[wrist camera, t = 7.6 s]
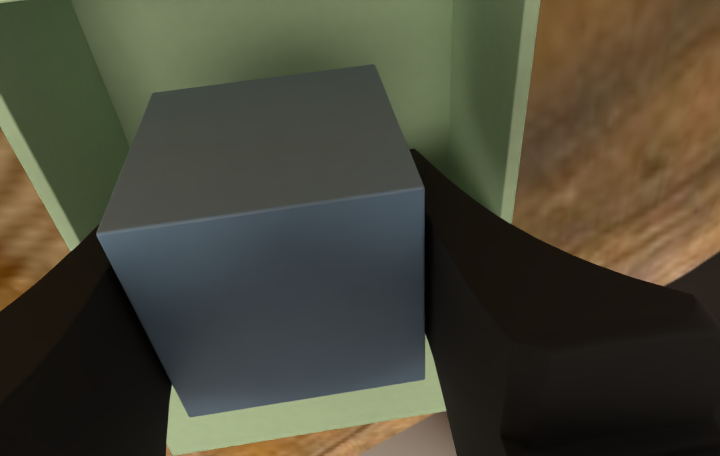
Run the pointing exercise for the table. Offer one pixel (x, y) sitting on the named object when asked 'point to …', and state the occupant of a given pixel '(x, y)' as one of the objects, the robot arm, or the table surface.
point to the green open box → (257, 61)
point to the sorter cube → (273, 239)
